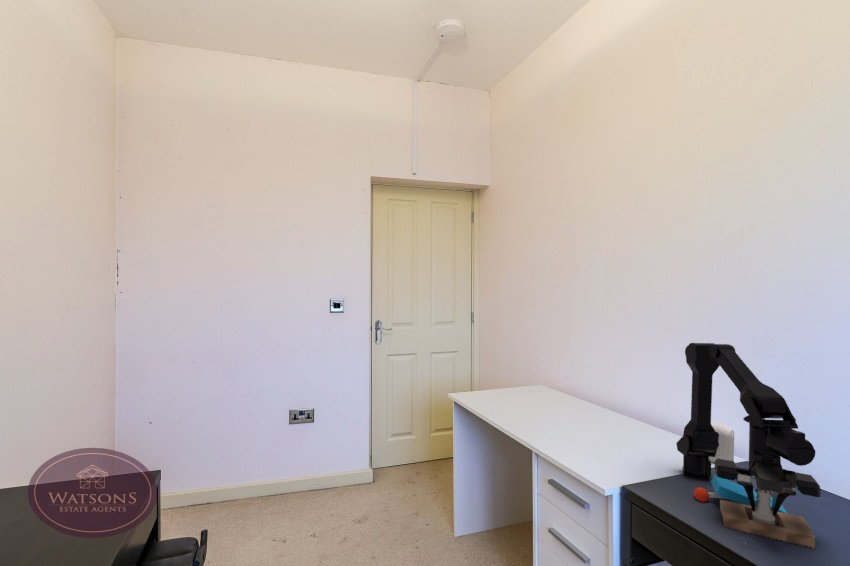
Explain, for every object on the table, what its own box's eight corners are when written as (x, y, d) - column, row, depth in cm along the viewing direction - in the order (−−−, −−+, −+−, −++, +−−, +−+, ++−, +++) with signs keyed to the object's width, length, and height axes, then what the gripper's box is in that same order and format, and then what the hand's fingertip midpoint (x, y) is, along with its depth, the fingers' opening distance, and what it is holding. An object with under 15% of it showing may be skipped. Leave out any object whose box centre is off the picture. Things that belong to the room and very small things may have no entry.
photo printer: (736, 465, 132) (736, 426, 132) (730, 469, 129) (731, 428, 129) (699, 454, 140) (700, 417, 140) (694, 457, 137) (694, 419, 137)
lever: (768, 524, 108) (689, 491, 115) (778, 500, 107) (698, 468, 114) (778, 539, 102) (694, 503, 109) (788, 513, 101) (703, 479, 108)
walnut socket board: (724, 527, 98) (724, 516, 98) (719, 508, 106) (720, 499, 106) (814, 548, 91) (815, 537, 91) (802, 527, 98) (802, 516, 98)
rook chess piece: (780, 529, 96) (780, 494, 96) (757, 526, 97) (758, 492, 97) (768, 518, 100) (769, 485, 100) (747, 515, 101) (747, 483, 101)
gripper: (720, 450, 96) (719, 518, 96) (829, 469, 87) (828, 544, 87) (714, 434, 106) (714, 496, 106) (812, 450, 96) (811, 517, 97)
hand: (763, 512), depth 99 cm, fingers closed on rook chess piece, 3 cm apart
